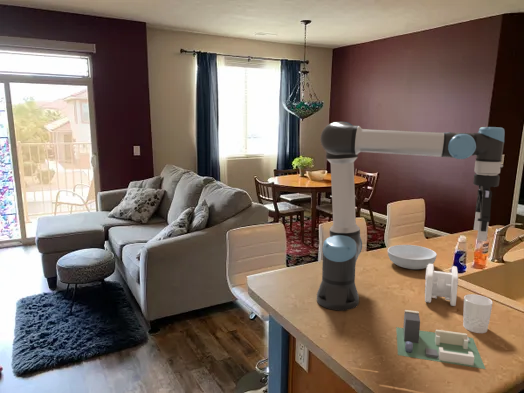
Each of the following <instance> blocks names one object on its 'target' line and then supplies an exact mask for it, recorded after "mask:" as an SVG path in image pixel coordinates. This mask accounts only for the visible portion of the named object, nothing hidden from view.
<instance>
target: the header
mask: <svg viewBox="0 0 524 393" xmlns="http://www.w3.org/2000/svg"><path fill="white" fill-rule="evenodd" d="M434 333H435V344H436V345H439V344H440V343H446V344H453V345H460V346H463V349H467V348H468V339H467V337H468V333H466V332H465V333H463V332H457V331H451V330H443V329H435V331H434ZM438 356H439V360H441V361H448V362H454V363H460V364H466V365H473V364H474V355H473V352H469V351H468V354H463V353H457V352H450V351H444V350H443V348H442V347H439V352H438Z"/></svg>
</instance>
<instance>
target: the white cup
mask: <svg viewBox="0 0 524 393" xmlns="http://www.w3.org/2000/svg"><path fill="white" fill-rule="evenodd" d="M492 309H493V301H492V299H491V298H489V297H487V296H484V295H480V294H475V293H473V294H471V293H470V294H466V295H464V297H463V310H462V311H463V315H462V318H463V320H462V323H463V324H462V326H463V327H464V329H465V330H467V331H469V332H472V333H477V334H485V333H487V332H488V329H489V324H490V321H491V320H490V319H491V315H492Z"/></svg>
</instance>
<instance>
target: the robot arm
mask: <svg viewBox="0 0 524 393" xmlns="http://www.w3.org/2000/svg"><path fill="white" fill-rule="evenodd" d="M505 133H506V132H505V128H503V127H501V126H500V127H496V126H482V127H480V128H478V131H477V132H473V133H472V132H451V131H450V132H433V131H431V132H429V131H412V130H411V131H409V130H408V131H407V130H387V129H366V128H362V127H361V126H360V125H354V124H351V123H350V122H347V121H333V122H331V123H329V124H327V125H326V126H325V127H324V128H323V129H322V130H321V133H320V145H321V146H322V148H323V149H324V151H325V156H326V157H325V158H326V159H325V160H327V161H328V162H329V163H330V175H331V176H330V181H331V182H330V183H331V203H332V205H331V206H332V223H333V224H332V225H331V226H330V227H329V237H327V238H326V239H325V240H324V241H323V244H322V267H321V269H322V271H321V272H322V273H321V277H322V278H321V282H320V284H319V287H318V290H317V293H316V301H317V303H318V305H320V306H321V307H323V308H325V309H328V310H333V311H348V310H352V309H355V308H357V307H358V306H359V304H360V303H359V302H360V297H359V292H358V289H357V286H356V283H355V280H356V264H357V260H358V258H359V256H360V254H361V252H362V249H363V241H362V238H361V228H360V226H358V225H357V223H356V194H355V193H356V191H355V189H356V188H355V161H356V160H357V159H358V155H359V154H360V153H374V154H377V153H378V154H392V155H404V156H405V155H406V156H423V157H425V156H426V157H440V158H454V159H456V160H465V159H468V158H470V157H471V156H474V157H475V162H474V169H473V170H474V173H475V174H473V181H472V182H473V185H474V186H478V189H477V196H476V198H477V199H476V204H475V207H474V208H475V218H474V224H473V231H477V236H476V237H477V238H476V240H477V241H482V242H483V241H484V242H487V240H488V233H489V224H490V222H491V212H492V211H491V208H492V207H491V206H492V196H493V191H492V190H491V188H495V187H496V188H497V187H499V185H500V178H501V177H500V175H499V174H501V168H503V167H504V165H503V164H502V162H503V160H502V159H503V154H504V153H503V152H504V146H505Z"/></svg>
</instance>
